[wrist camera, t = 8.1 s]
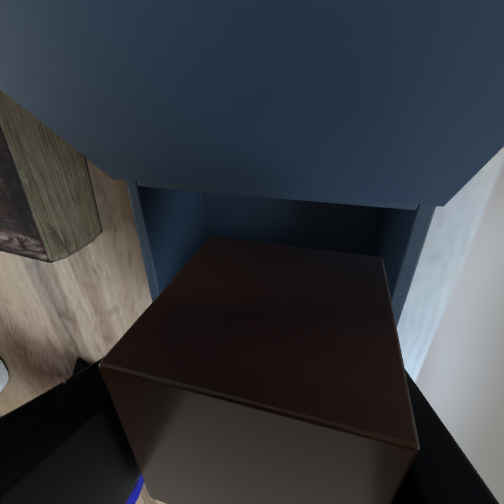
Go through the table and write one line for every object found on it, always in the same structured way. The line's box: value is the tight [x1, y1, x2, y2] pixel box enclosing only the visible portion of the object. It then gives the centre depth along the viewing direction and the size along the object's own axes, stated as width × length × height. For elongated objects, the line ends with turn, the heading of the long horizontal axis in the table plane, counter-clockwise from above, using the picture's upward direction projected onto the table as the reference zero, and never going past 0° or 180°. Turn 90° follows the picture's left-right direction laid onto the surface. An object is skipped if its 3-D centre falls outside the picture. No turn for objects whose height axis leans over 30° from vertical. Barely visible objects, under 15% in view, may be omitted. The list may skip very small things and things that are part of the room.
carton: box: [126, 180, 436, 328], centre depth 16 cm, size 13×11×7 cm
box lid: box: [0, 0, 504, 206], centre depth 7 cm, size 6×11×1 cm
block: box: [99, 236, 420, 504], centre depth 7 cm, size 4×4×4 cm
